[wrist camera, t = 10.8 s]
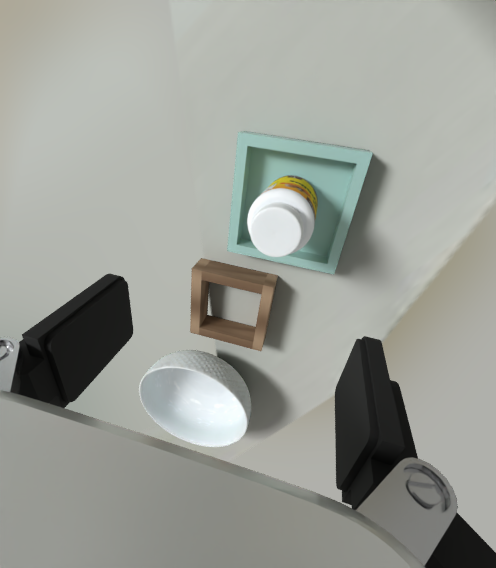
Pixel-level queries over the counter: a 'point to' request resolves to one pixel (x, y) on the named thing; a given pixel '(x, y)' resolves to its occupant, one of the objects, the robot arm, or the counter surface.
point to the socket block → (237, 279)
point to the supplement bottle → (283, 216)
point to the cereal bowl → (197, 398)
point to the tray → (318, 172)
